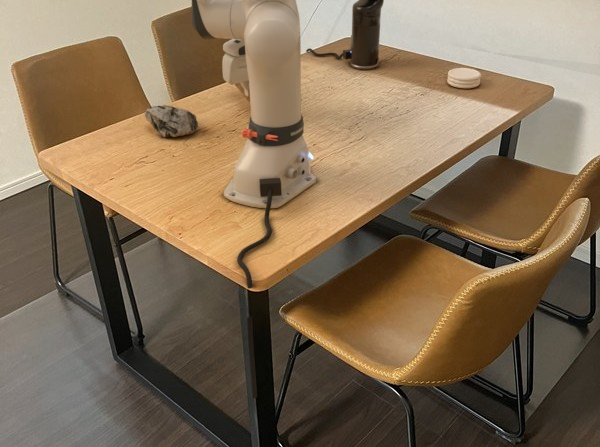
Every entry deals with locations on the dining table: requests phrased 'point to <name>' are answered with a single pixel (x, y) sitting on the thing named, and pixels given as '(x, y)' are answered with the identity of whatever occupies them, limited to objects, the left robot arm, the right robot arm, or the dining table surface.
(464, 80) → the coaster
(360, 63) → the right robot arm
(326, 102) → the dining table surface
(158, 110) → the rock
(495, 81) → the dining table surface
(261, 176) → the left robot arm
